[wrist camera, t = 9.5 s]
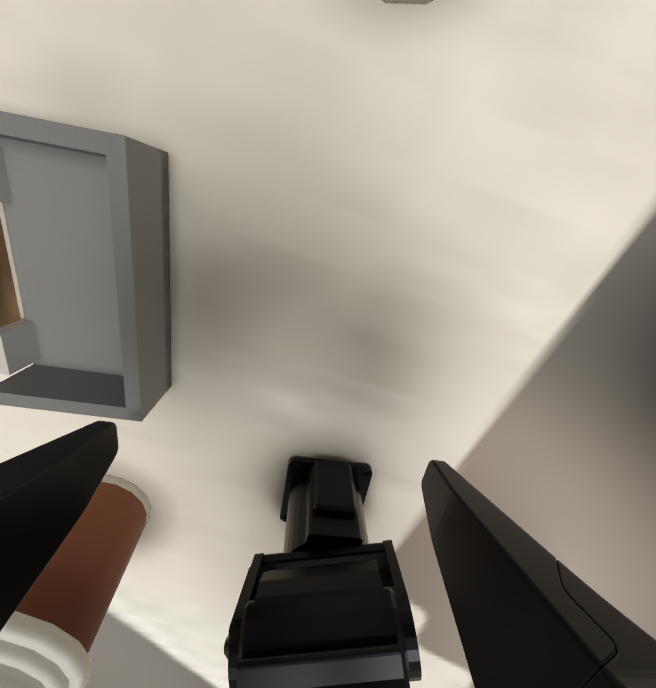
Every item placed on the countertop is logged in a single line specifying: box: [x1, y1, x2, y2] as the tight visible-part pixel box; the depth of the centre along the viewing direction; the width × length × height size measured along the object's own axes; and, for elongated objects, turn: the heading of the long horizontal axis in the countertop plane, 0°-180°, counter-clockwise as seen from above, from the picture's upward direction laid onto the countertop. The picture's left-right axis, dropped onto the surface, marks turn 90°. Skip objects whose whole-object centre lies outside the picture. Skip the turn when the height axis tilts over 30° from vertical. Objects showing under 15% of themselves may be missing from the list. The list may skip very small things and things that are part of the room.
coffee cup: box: [0, 475, 151, 688], centre depth 20 cm, size 9×9×12 cm
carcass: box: [0, 111, 171, 421], centre depth 17 cm, size 14×12×4 cm
